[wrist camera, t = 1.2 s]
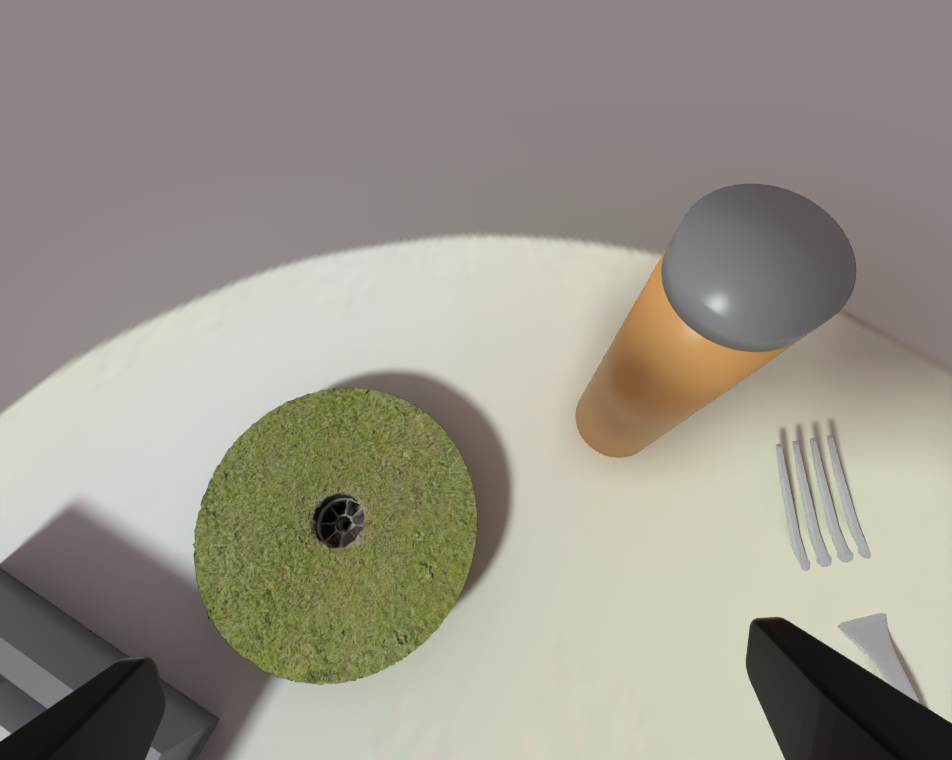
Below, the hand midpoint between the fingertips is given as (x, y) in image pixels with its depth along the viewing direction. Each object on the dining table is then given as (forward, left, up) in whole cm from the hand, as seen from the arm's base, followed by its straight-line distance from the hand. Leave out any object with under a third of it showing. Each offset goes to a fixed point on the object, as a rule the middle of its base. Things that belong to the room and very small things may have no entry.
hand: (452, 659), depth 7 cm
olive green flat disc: (+6, 0, -14) cm, 15 cm away
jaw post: (-2, -9, -13) cm, 17 cm away
